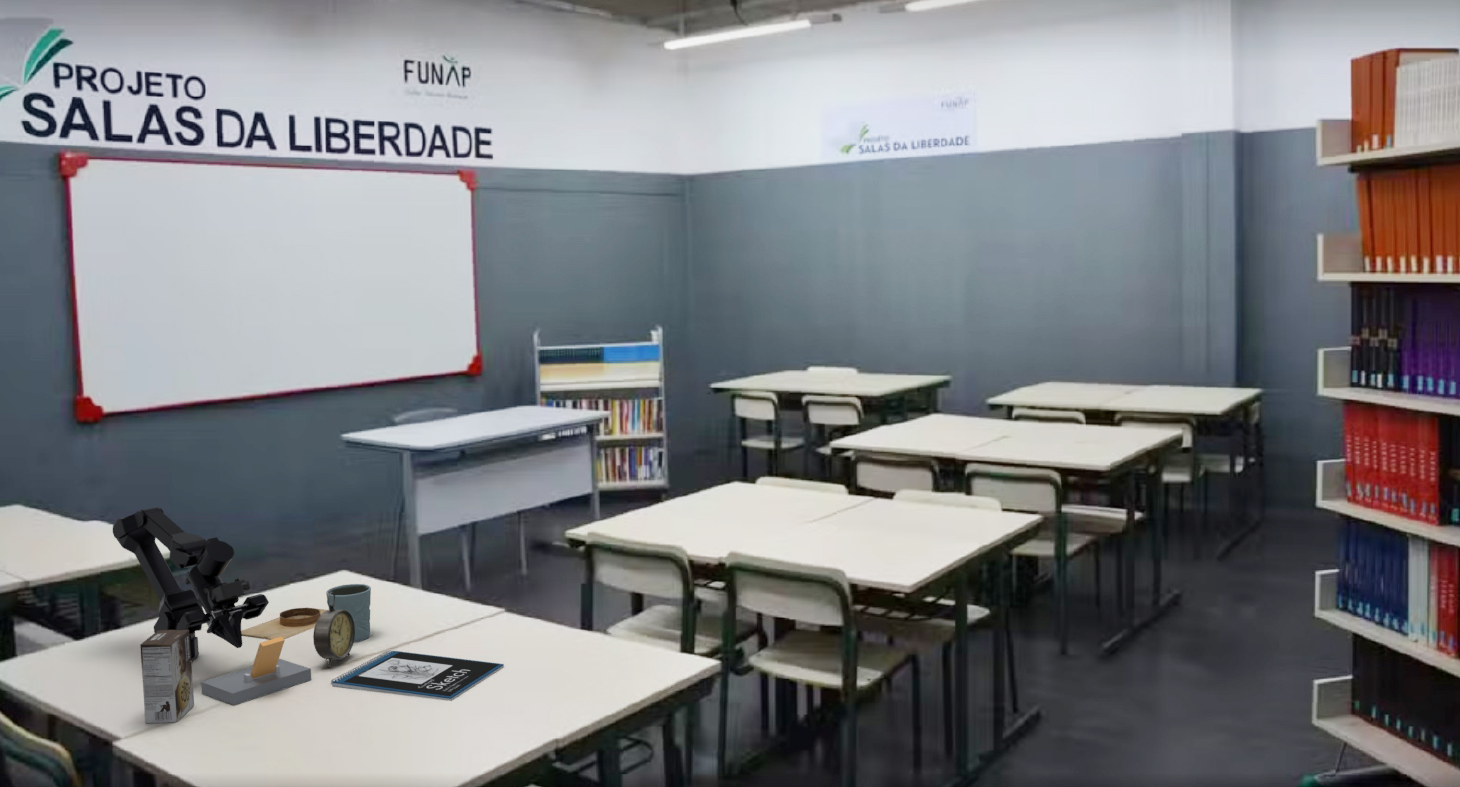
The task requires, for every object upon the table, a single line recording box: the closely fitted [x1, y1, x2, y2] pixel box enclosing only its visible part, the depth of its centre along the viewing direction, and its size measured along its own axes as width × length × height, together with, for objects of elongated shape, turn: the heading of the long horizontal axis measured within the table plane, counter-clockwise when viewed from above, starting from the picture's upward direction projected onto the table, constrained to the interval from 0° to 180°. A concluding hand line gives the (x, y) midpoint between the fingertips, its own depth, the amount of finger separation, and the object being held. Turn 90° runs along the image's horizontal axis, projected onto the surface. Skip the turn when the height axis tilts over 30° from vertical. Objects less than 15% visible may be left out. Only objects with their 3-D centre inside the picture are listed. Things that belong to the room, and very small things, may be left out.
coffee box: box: [139, 630, 195, 724], centre depth 228 cm, size 9×6×16 cm
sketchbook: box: [330, 649, 505, 702], centre depth 249 cm, size 22×30×2 cm
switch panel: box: [200, 658, 312, 706], centre depth 244 cm, size 12×18×4 cm, turn 144°
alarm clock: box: [312, 592, 355, 669], centre depth 258 cm, size 11×5×16 cm, turn 168°
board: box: [241, 607, 328, 641], centre depth 289 cm, size 25×15×3 cm, turn 157°
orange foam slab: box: [250, 637, 286, 679], centre depth 241 cm, size 1×5×9 cm
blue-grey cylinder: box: [325, 583, 372, 643], centre depth 276 cm, size 10×10×12 cm
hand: (240, 646), depth 247 cm, fingers closed
